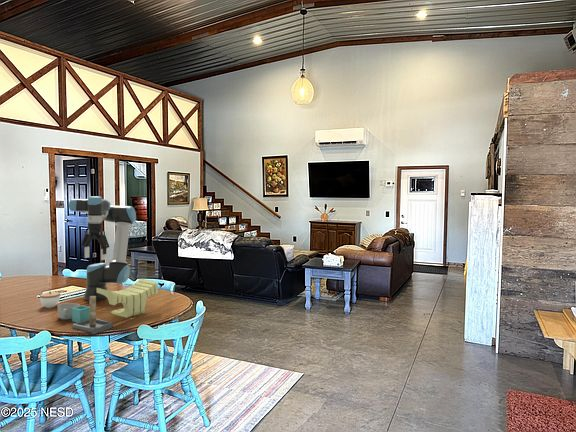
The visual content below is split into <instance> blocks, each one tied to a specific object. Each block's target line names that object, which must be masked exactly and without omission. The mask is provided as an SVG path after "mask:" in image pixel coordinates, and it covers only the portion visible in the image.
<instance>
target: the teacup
mask: <svg viewBox="0 0 576 432" xmlns="http://www.w3.org/2000/svg"><path fill="white" fill-rule="evenodd" d="M78 306H80V303H75V302H67V303H66V302H65V303H61V304H60V303H59V304H57V317H58V318H59V319H60V320H62V321H63V320H64V321H65V320H72V308H75V307H78Z"/></svg>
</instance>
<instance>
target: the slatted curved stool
mask: <svg viewBox="0 0 576 432" xmlns="http://www.w3.org/2000/svg"><path fill="white" fill-rule="evenodd" d="M97 293H100V294H102V295H104V296H106V297H107V298H106V299H107V300H108V303H109V305H112V306H115V305H116V306H117V304H122V305H123V307H122V308H118V309H114V310H112V311H111V312H110V313H111V314H112V315H114V316H115V315H116V316H119V317H123V318H131V317H134V316H138V315H142V314H145V311H146V304H147V299H148V298H149V297H151V295H159V285H158V283H157V282H156V281H155V280H149V279H145V278H140V279H139V280H138V281H135V283H134V284H131V285H130V286H128V287H127V288H124V289H120V290H114V291H113V290H112V291H111V290H108V289H107V290H104V289H100V288H97Z"/></svg>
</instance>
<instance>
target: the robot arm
mask: <svg viewBox="0 0 576 432" xmlns="http://www.w3.org/2000/svg"><path fill="white" fill-rule="evenodd" d="M111 204H112V203H111V201H109V200H108V199H103V197H102V196H88V197H87V198H86V199H85V198H72V199H70V200H69V202H68V208H69V211H71V212H75V213H76V212H80V213H84V214H87V222H88V223H87V229H88V230H85V231H84V235H83V239H82V241H81V243H80V244H81V246H82V247H83V249H84V250H83V252H84V259H87V258H90V244H91V242H92V241H93V240H97V243H99V246H100V247H101V249H100V261H104V260H107V249H108V248H110V245H109V241H108V238H107V236H106V231H105V230H104V231H102V229H103V223H102V222H103V221H104V222H109V223H114V226H116V229H115V234H114V236H115V237H114V244H113V251H112V258H111V260H110V261H109V264H108V265H107V264H106V263H105V262H99V263H93V264H89V265H88V266H87V267H86V289H85V291H84V292H85V293H84V295H83V300H84V301H88V302H90V296H96V301H102V300H106V299H108V298H107V297H106V296H104V295H102V294H100V293H97V288H100V289H104V290H108V288H107V284H123V283H126V282H127V281H128V279H129V277H130V274H131V266H129V264H128V262H127V261H126V260H127V253H128V245H129V244H128V243H129V236H130V229H131V227H132V226H133V224H134V223H136V221H137V213H136V210H135V208H134V207H133V206H130V205H111Z"/></svg>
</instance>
